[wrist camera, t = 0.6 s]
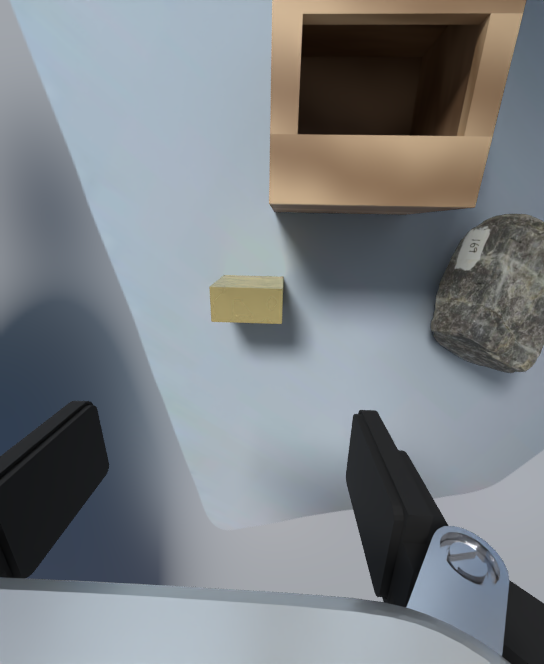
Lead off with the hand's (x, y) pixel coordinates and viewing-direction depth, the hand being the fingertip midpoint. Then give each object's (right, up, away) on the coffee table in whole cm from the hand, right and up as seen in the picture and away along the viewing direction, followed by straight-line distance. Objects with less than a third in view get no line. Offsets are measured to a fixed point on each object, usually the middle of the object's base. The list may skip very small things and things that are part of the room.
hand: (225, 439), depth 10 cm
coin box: (+8, +21, +14) cm, 26 cm away
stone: (+21, +8, +18) cm, 29 cm away
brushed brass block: (0, +8, +19) cm, 21 cm away
